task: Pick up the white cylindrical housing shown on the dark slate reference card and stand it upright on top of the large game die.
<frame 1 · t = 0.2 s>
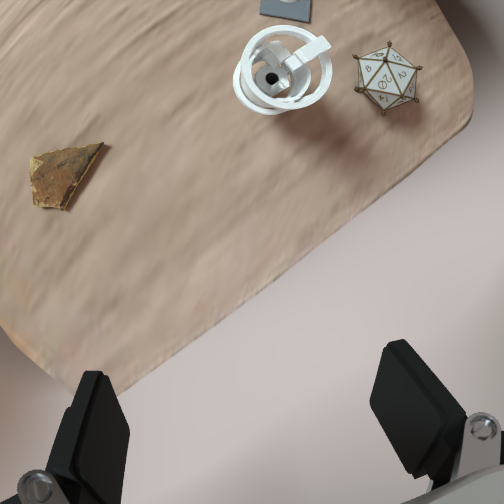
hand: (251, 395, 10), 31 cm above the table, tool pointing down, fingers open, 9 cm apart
shard: (61, 165, 34), on the table
white cylindrical housing: (259, 89, 34), on the table
game die: (370, 82, 35), on the table
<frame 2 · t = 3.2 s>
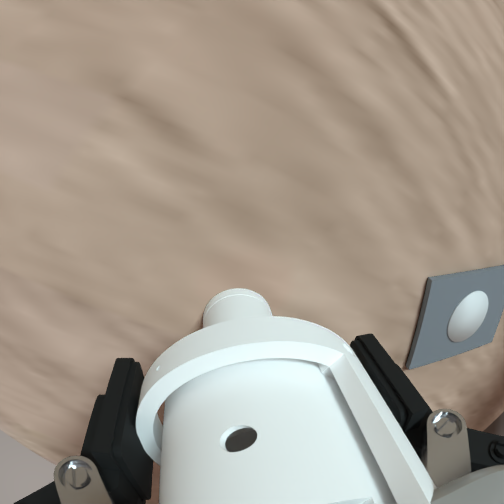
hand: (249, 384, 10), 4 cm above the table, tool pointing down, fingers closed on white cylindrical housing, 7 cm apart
white cylindrical housing: (236, 316, 15), on the table, touching gripper
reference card: (464, 313, 17), on the table
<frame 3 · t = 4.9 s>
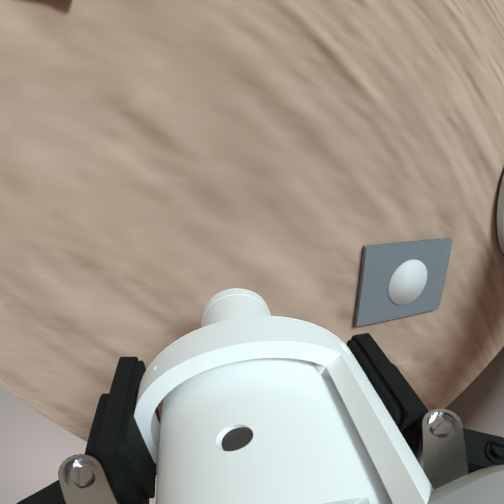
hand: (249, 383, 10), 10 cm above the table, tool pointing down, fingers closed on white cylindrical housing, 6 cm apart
white cylindrical housing: (235, 316, 15), point 5 cm above the table, touching gripper
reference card: (405, 280, 22), on the table
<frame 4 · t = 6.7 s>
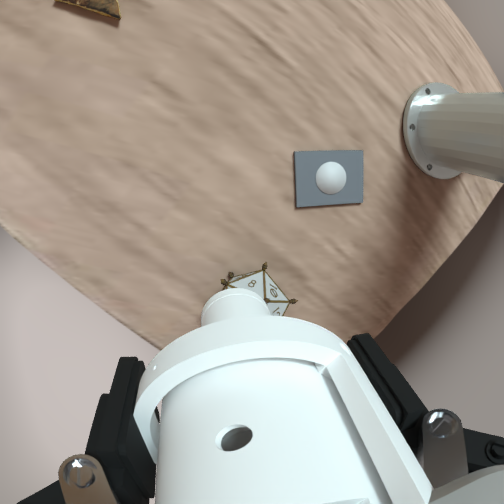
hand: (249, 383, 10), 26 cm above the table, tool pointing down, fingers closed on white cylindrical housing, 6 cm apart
white cylindrical housing: (235, 316, 15), point 21 cm above the table, touching gripper
game die: (245, 288, 38), on the table
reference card: (329, 177, 35), on the table
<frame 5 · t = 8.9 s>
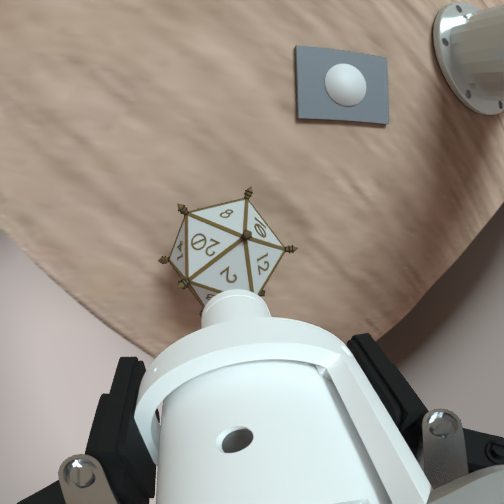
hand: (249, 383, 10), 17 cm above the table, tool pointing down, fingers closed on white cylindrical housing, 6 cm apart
white cylindrical housing: (235, 317, 15), point 12 cm above the table, touching gripper
game die: (222, 236, 26), on the table
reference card: (343, 85, 23), on the table
when the fingers open (14 cm above the table, at t = 10.1 s): white cylindrical housing drops 1 cm, resting on game die.
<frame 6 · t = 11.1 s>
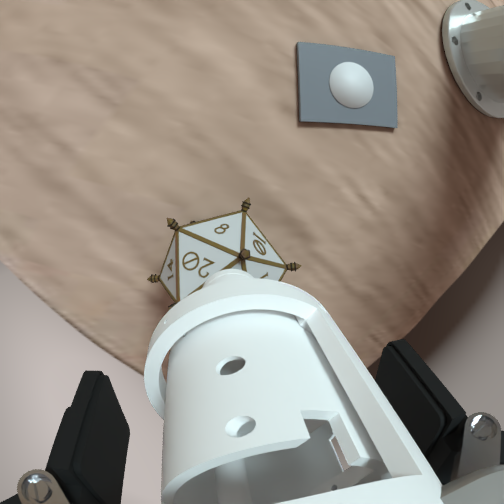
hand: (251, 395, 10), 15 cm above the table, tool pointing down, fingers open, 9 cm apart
white cylindrical housing: (230, 294, 17), point 8 cm above the table, touching game die
game die: (217, 250, 24), on the table, touching white cylindrical housing
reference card: (349, 85, 21), on the table
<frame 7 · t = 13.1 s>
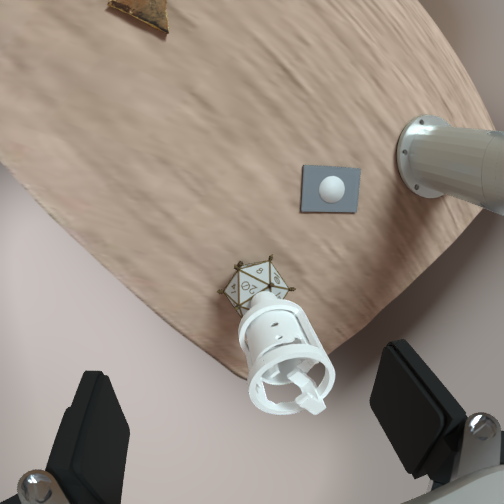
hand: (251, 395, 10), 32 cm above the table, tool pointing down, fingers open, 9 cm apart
white cylindrical housing: (263, 302, 37), point 8 cm above the table, touching game die
game die: (251, 276, 45), on the table, touching white cylindrical housing
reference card: (330, 188, 41), on the table
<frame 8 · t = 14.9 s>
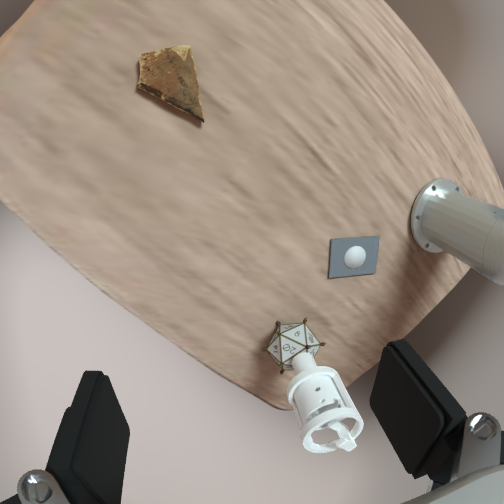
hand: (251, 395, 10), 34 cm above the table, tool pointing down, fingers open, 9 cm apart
shard: (180, 76, 36), on the table
white cylindrical housing: (302, 359, 43), point 8 cm above the table, touching game die
game die: (287, 331, 51), on the table, touching white cylindrical housing
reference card: (353, 256, 48), on the table
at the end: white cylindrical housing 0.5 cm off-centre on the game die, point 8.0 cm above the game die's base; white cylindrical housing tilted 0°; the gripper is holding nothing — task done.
